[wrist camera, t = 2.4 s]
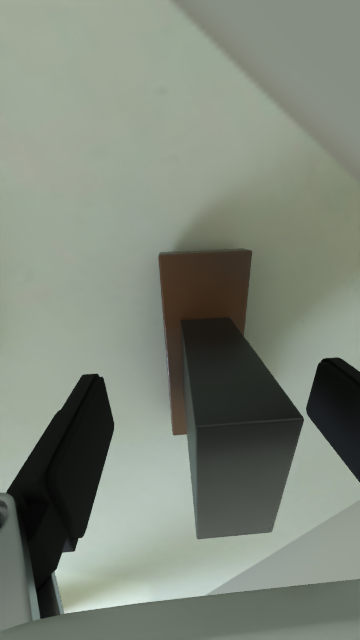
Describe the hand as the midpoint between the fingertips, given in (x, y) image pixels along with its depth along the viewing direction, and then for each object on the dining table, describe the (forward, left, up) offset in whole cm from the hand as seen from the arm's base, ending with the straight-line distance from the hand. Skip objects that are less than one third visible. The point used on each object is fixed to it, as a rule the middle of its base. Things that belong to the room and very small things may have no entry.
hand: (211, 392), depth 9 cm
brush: (0, 0, -4) cm, 4 cm away
